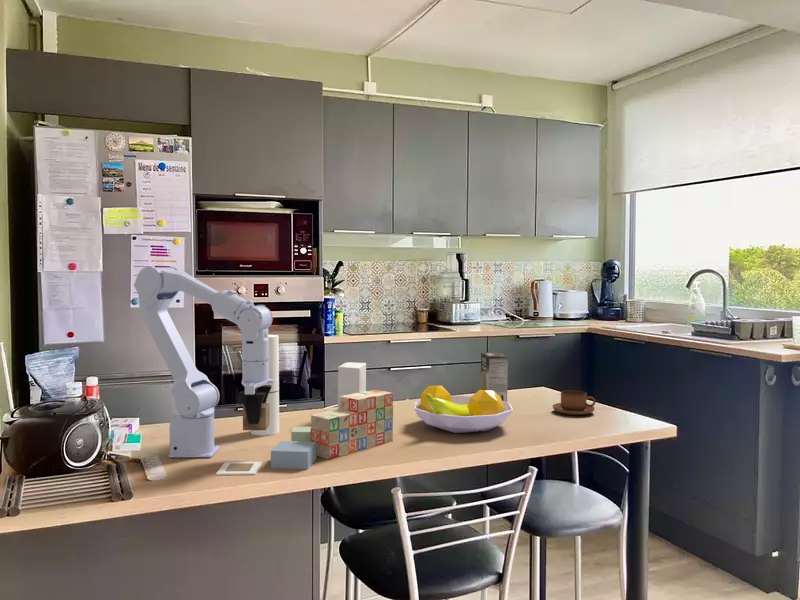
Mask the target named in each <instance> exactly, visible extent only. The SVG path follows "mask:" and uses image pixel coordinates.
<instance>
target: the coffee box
mask: <svg viewBox="0 0 800 600" xmlns="http://www.w3.org/2000/svg"><path fill="white" fill-rule="evenodd" d="M480 355H481V356H480V390H491V391H495V392H496V393H497V394H498V395H499V396H500V397H501V399H502V401H504V402H507V403H508V381H509V379H508V376H509V373H508V372H509V371H508V370H509V369H508V368H509V364H508V363H509V358H508V356H507V355H505V354H503V353H502V352H485V351H484V352H480Z"/></svg>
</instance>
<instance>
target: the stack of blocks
mask: <svg viewBox="0 0 800 600" xmlns="http://www.w3.org/2000/svg"><path fill="white" fill-rule="evenodd" d="M393 396H394V394H393V392H389V391H385V390H384V391H383V390H377V389H372V390H366V391H363V392H358V393H354V394H349V395H344V396H340V409H338V408H337V409H333V410H329V411H328V410H327V411H324V412H318V413H315V414H311V415H310V427H311V442H316V446H317V457H319V458H323V459H326V460H331V459H334V458H338V457H341V456H346V455H349V454H353V453H356V452H360V451H362V450H363V451H364V450H366V449H369V448H373V447H377V446H381V445H384V444H388V443H392V442H393V440H394V439H393V437H394V436H393V435H394V433H393V432H394V429H393V428H394V427H393V425H394V420H393V419H394V405H393V404H394V402H393V401H394V400H393V399H394V397H393Z"/></svg>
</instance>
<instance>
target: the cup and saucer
mask: <svg viewBox="0 0 800 600" xmlns="http://www.w3.org/2000/svg"><path fill="white" fill-rule="evenodd" d="M587 395H588V394H587V392H585V391H582V390H575V389H574V390H573V389H572V390H562V391H560V402H558V403H553V405H552V409H553V410H555V412H557V413H561V414H564V415H568V416H583V415H584V416H585V415H590V414H592V413H593V412H594V411H595V410H596V409H595V407H594V406H595V404H596V403H597V401H596V399H595V398H594V397H593V396H590V395H589V396H587ZM587 400H592V403H591V404H589V403H587Z"/></svg>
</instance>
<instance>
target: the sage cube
mask: <svg viewBox="0 0 800 600" xmlns="http://www.w3.org/2000/svg"><path fill="white" fill-rule="evenodd" d="M290 434H291V435H290V437H291V438H290V439H291V440H290V441H305V442H311V426H294V427H293V428H292V429H291V432H290Z"/></svg>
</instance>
